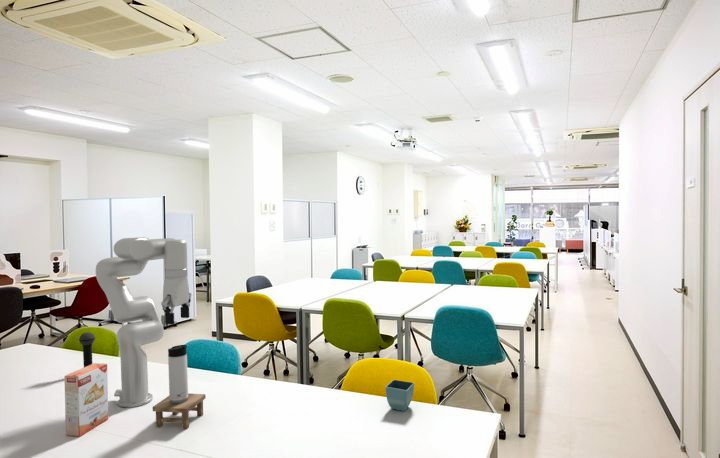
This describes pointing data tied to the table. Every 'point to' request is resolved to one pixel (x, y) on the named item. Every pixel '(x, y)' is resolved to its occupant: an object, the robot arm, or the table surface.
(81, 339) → the microphone
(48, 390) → the table surface
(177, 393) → the travel mug
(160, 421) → the stool
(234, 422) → the table surface
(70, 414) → the cracker box
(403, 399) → the flower pot
